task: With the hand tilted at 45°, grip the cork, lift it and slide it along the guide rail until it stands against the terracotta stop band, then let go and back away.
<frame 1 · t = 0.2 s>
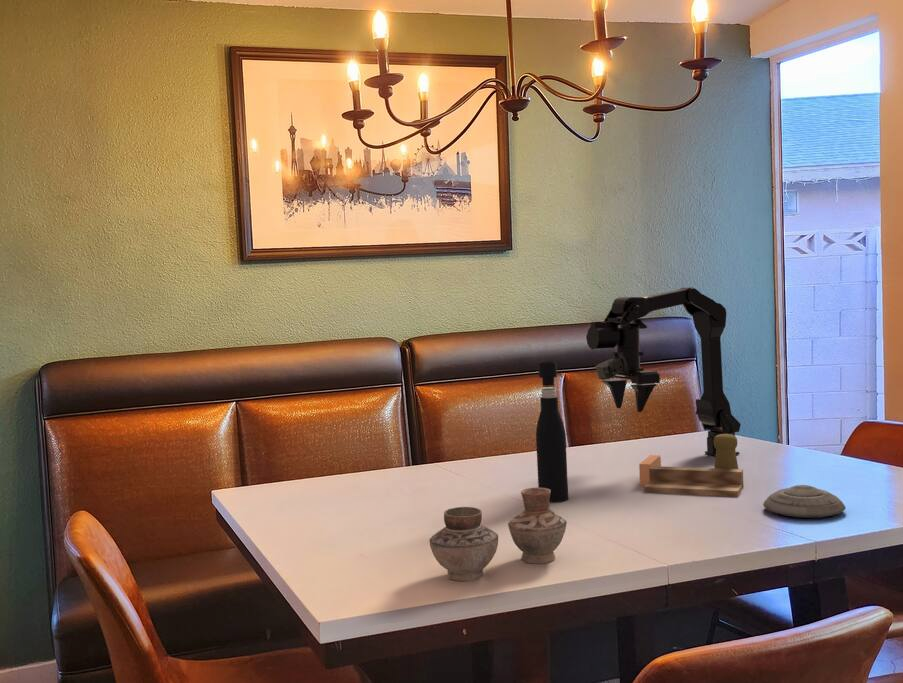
hand: (629, 410, 226), 14 cm above the table, tool pointing down, fingers open, 9 cm apart
cork: (726, 483, 205), on the table
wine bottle: (553, 500, 198), on the table
guide rail: (700, 481, 208), on the table
flying saucer: (803, 514, 177), on the table
pottery: (501, 569, 152), on the table
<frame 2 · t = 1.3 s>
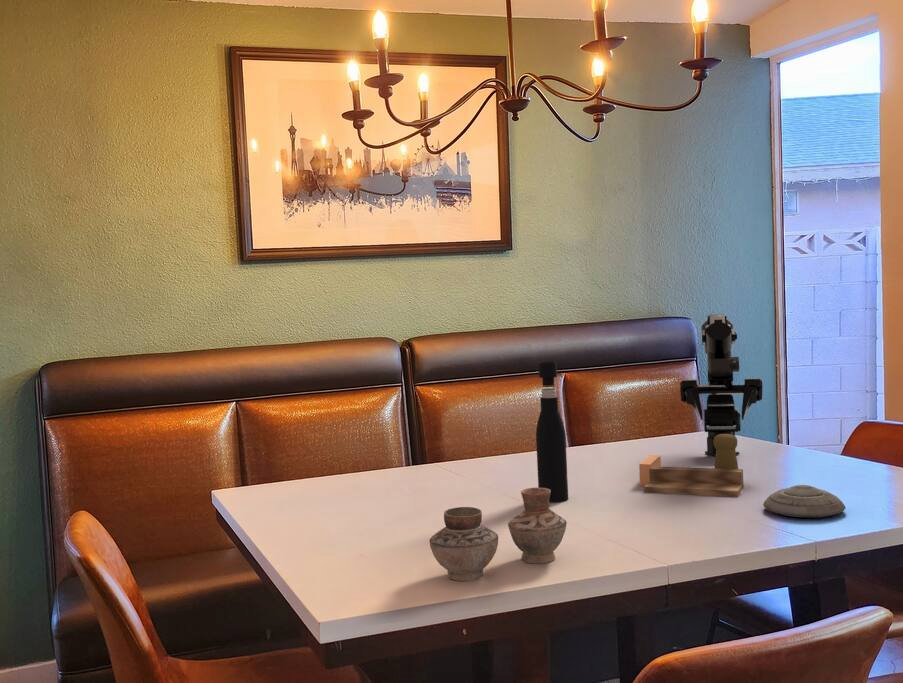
hand: (722, 418, 212), 13 cm above the table, tool tilted 45°, fingers open, 9 cm apart
nothing on the table moved.
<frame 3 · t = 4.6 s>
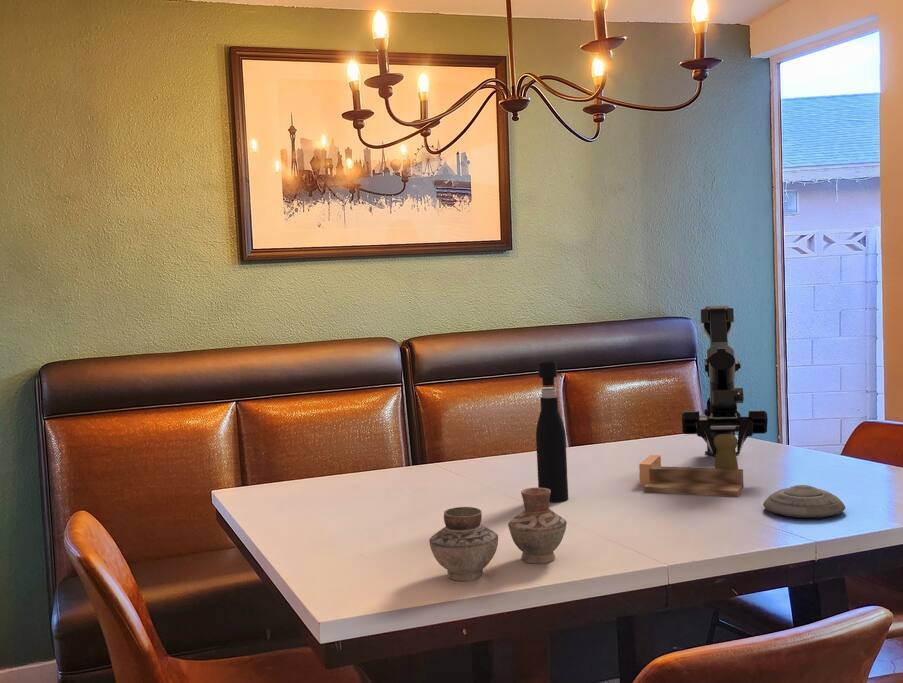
hand: (725, 452, 203), 7 cm above the table, tool tilted 45°, fingers closed on cork, 5 cm apart
cork: (726, 483, 205), on the table, touching gripper
everything else where it was.
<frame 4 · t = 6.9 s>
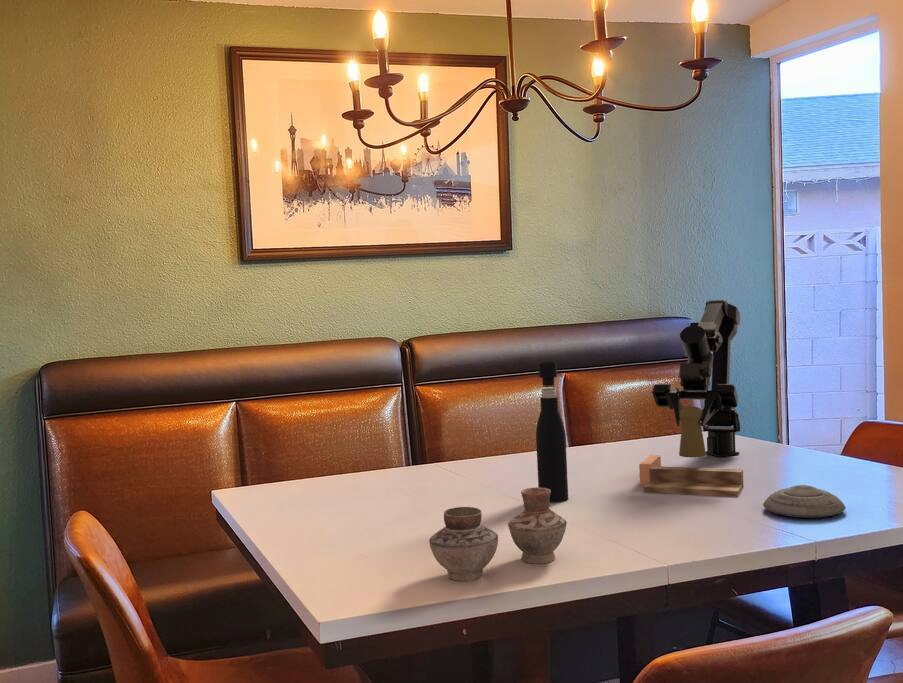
hand: (689, 425, 206), 13 cm above the table, tool tilted 45°, fingers closed on cork, 5 cm apart
cork: (692, 455, 208), point 6 cm above the table, touching gripper
everything else where it was.
when the fingers open (8 cm above the table, at t = 9.6 s): cork drops 1 cm, on the table.
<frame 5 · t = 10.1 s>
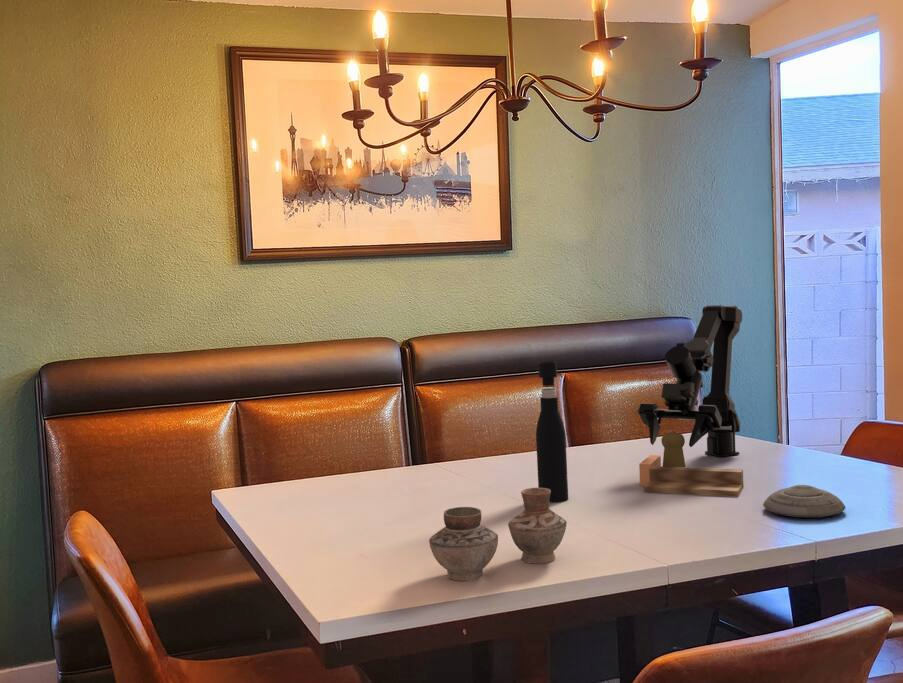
hand: (670, 444, 208), 9 cm above the table, tool tilted 45°, fingers open, 9 cm apart
cork: (674, 481, 210), on the table
everything else where it was.
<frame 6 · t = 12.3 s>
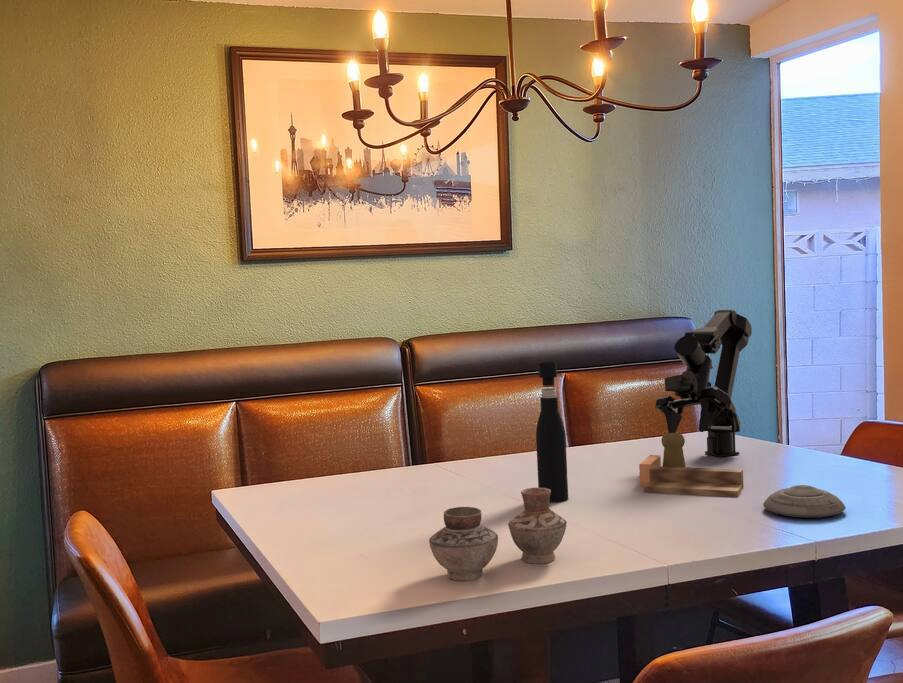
hand: (685, 433, 216), 10 cm above the table, tool tilted 35°, fingers open, 9 cm apart
nothing on the table moved.
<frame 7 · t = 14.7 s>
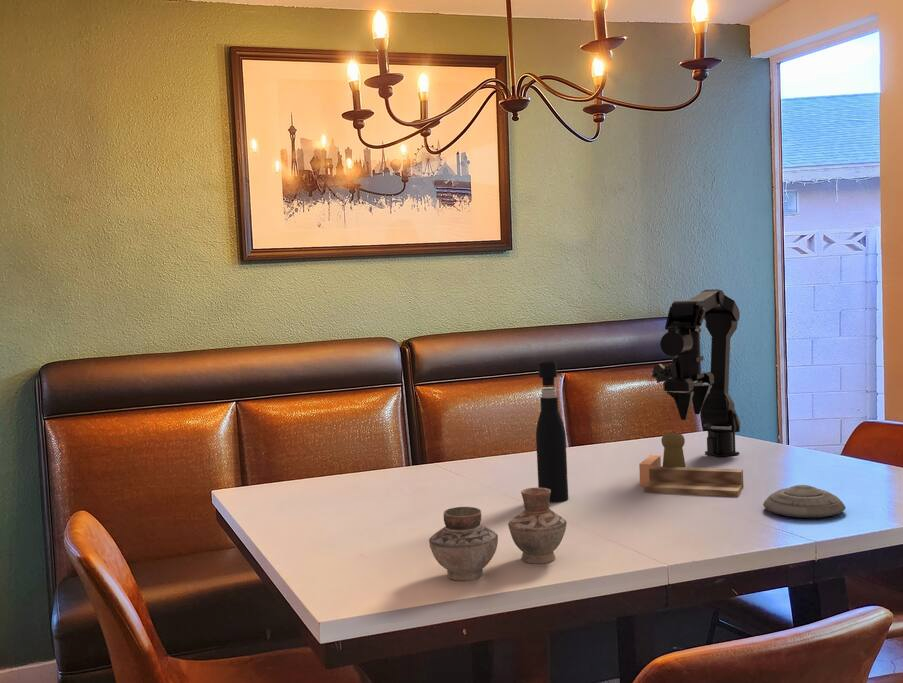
hand: (690, 416, 220), 13 cm above the table, tool pointing down, fingers open, 9 cm apart
nothing on the table moved.
at the end: cork 0.1 cm from the target spot, on the table; cork tilted 0°; the gripper is holding nothing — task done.
